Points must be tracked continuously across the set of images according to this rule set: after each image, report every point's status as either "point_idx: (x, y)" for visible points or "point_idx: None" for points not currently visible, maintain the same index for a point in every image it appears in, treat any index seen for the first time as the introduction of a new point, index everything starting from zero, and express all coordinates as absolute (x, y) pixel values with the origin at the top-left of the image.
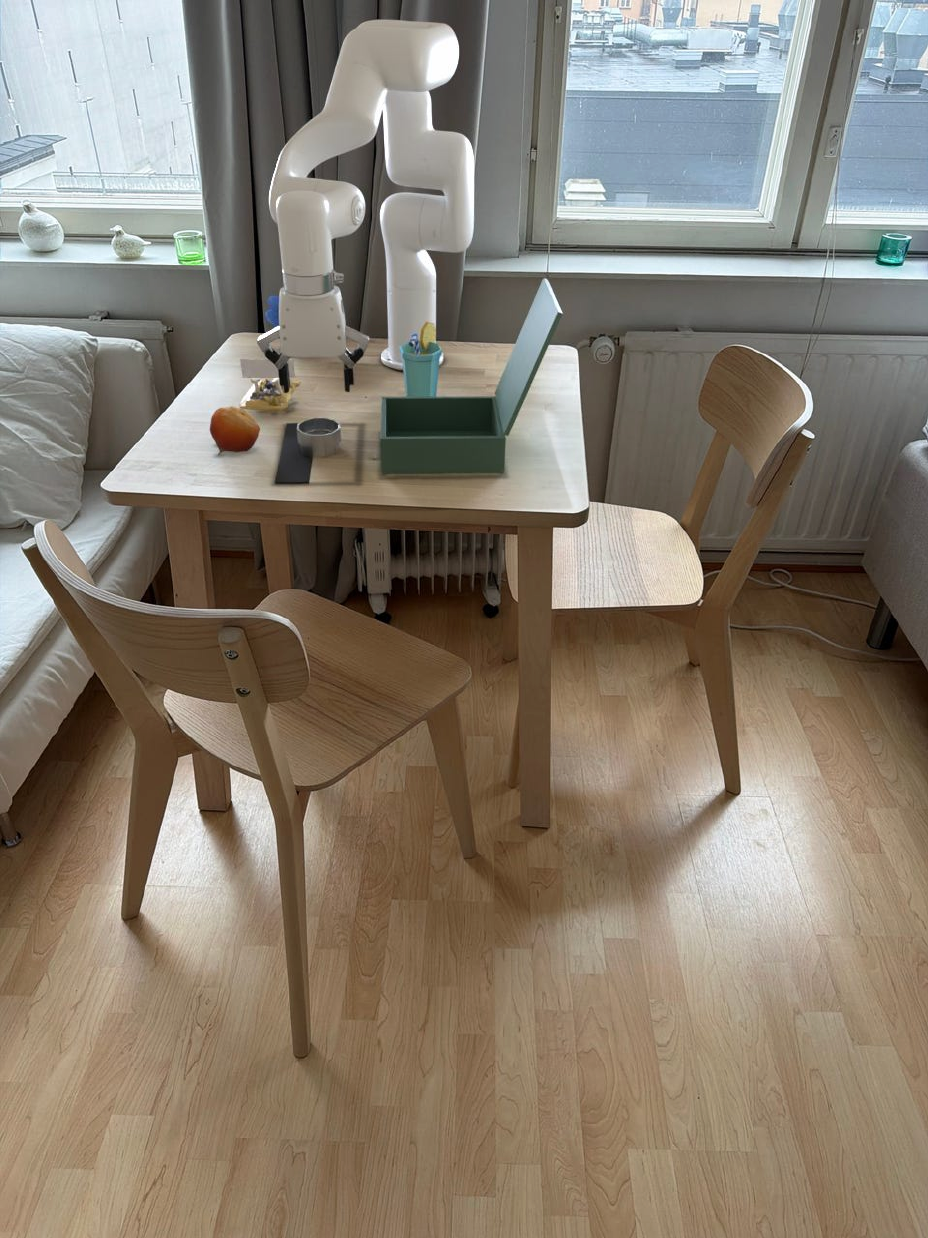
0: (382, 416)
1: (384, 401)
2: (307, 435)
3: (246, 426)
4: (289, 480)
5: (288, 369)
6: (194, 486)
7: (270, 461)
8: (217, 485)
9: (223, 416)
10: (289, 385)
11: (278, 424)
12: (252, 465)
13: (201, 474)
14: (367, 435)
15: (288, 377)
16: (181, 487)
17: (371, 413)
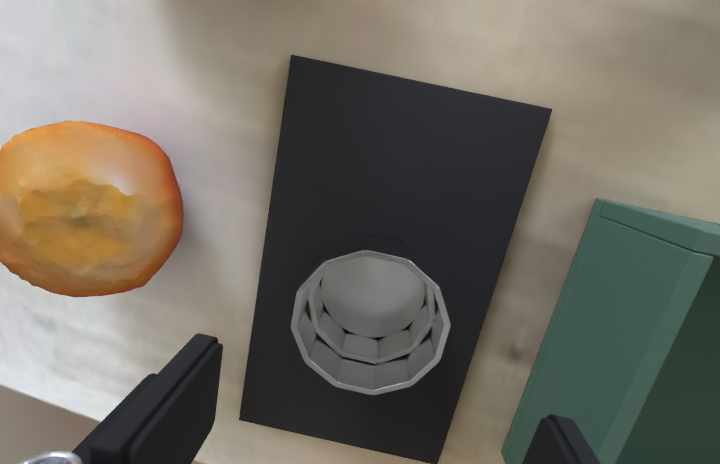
0: (619, 425)
1: (692, 287)
2: (323, 375)
3: (116, 285)
4: (274, 422)
5: (163, 429)
6: (59, 379)
7: (233, 300)
8: (110, 387)
9: (7, 264)
10: (212, 385)
11: (264, 41)
12: (186, 310)
13: (65, 327)
14: (543, 198)
15: (183, 435)
16: (31, 376)
17: (620, 7)
